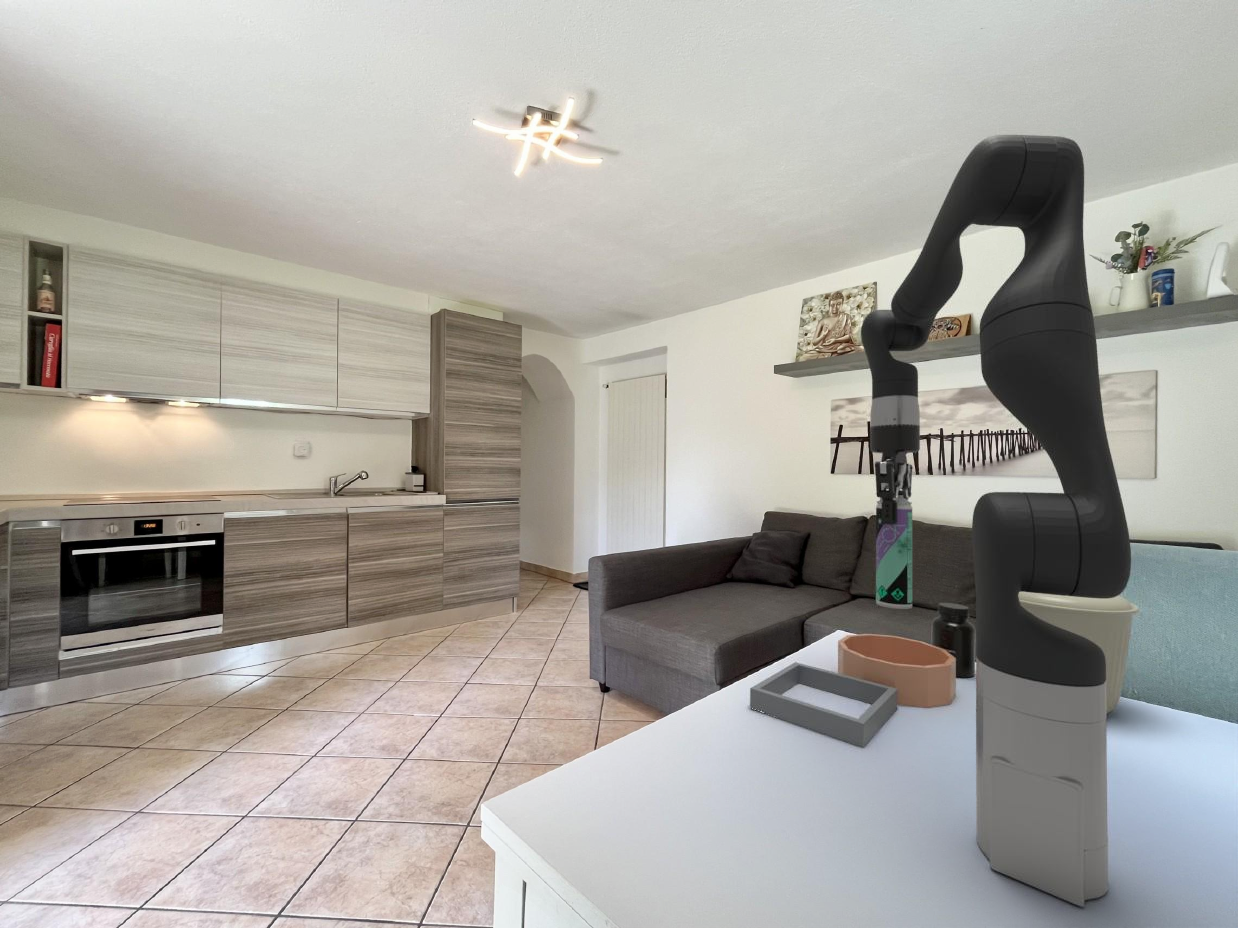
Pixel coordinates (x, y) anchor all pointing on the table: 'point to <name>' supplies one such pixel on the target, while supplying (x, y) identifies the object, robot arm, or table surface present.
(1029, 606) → the canister
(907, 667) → the bowl
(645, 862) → the table surface
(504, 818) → the table surface
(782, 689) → the parts tray
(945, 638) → the supplement bottle
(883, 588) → the spray can
